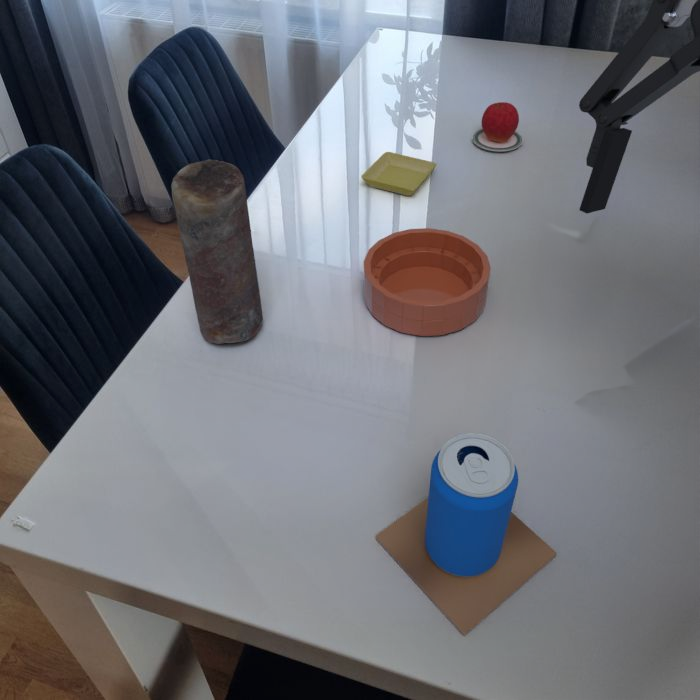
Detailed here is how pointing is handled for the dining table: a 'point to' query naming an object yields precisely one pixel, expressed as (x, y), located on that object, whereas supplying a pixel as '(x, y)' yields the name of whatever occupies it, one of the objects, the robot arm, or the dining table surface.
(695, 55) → the robot arm
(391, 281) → the bowl
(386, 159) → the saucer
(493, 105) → the apple
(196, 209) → the stone cylinder
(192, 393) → the dining table surface
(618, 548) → the dining table surface
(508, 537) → the cork mat
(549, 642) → the dining table surface
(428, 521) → the beverage can
